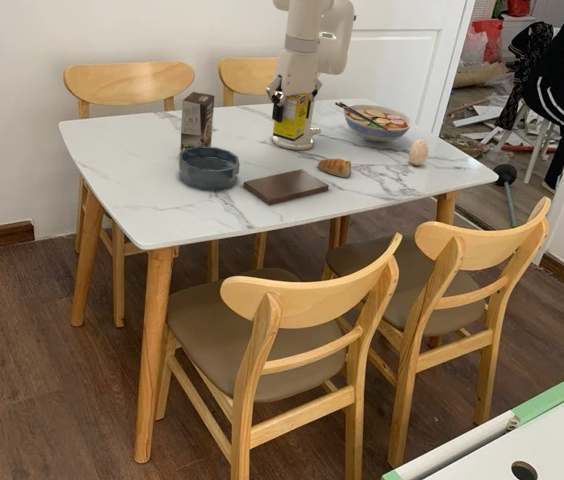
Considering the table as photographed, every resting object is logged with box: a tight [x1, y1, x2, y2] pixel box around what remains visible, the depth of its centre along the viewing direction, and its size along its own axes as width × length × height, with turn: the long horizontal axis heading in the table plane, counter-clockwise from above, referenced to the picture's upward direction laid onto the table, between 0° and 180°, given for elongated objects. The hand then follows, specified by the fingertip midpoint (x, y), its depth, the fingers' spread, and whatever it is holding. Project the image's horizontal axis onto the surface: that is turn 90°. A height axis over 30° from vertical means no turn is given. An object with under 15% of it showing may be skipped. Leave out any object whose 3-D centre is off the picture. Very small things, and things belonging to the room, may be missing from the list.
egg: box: [408, 139, 429, 166], centre depth 182 cm, size 6×6×8 cm
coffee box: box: [179, 91, 216, 159], centre depth 165 cm, size 9×6×16 cm
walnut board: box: [242, 168, 330, 206], centre depth 158 cm, size 20×11×2 cm, turn 129°
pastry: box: [317, 158, 352, 178], centre depth 171 cm, size 9×7×4 cm
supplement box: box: [272, 93, 310, 142], centre depth 148 cm, size 6×6×11 cm
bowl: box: [178, 146, 241, 191], centre depth 156 cm, size 15×15×6 cm
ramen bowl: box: [334, 101, 414, 143], centre depth 197 cm, size 25×23×8 cm
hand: (290, 118), depth 148 cm, fingers closed on supplement box, 7 cm apart
